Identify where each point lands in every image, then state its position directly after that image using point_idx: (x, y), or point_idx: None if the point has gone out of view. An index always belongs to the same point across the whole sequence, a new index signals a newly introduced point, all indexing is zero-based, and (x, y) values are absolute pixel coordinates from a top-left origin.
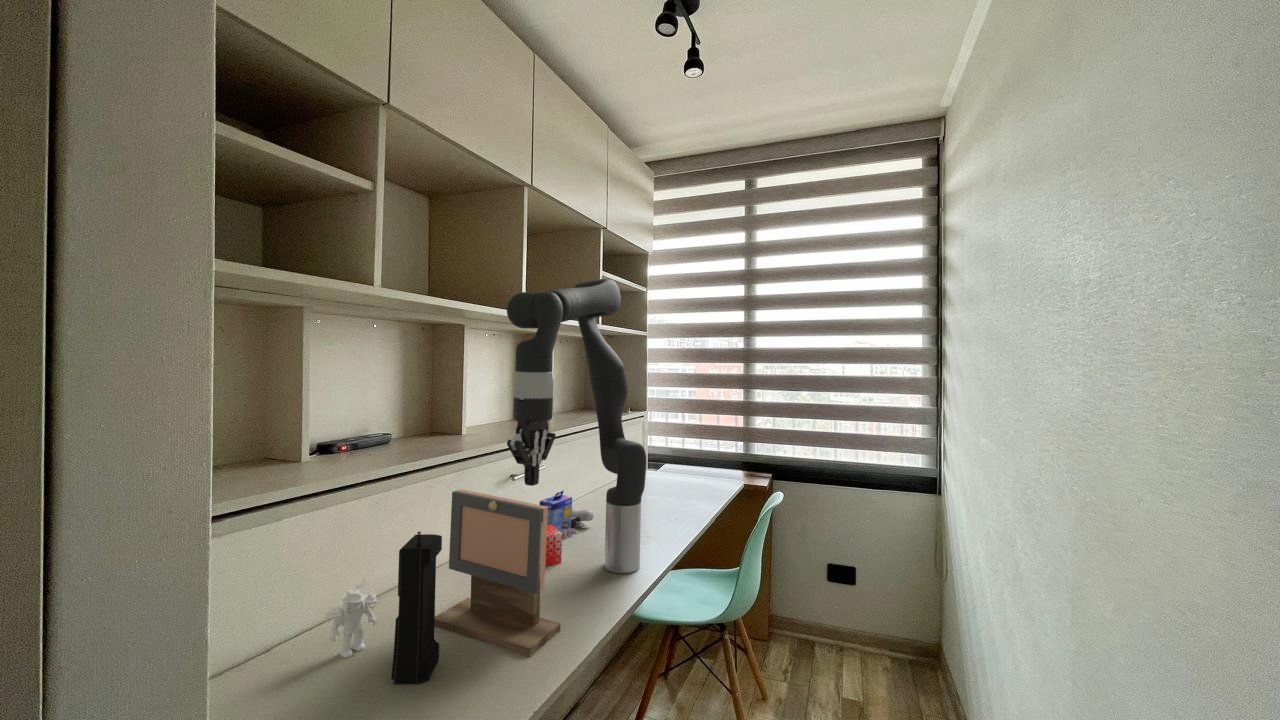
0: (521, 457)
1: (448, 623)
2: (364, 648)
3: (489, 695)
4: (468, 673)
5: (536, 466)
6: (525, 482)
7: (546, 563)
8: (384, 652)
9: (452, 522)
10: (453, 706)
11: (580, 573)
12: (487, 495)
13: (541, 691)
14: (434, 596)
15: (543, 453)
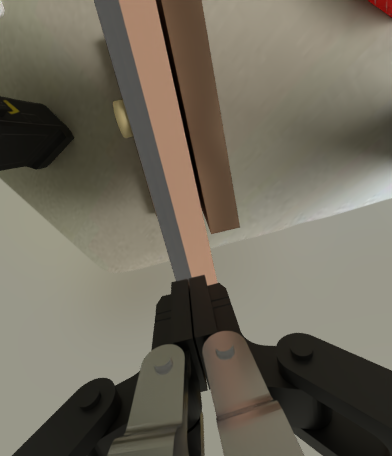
0: (93, 445)
1: (115, 74)
2: (1, 16)
3: (88, 233)
4: (90, 186)
5: (205, 389)
6: (163, 298)
7: (377, 3)
8: (24, 54)
9: None
10: (53, 221)
11: (371, 91)
12: (147, 21)
13: (128, 263)
14: (22, 130)
15: (312, 442)
